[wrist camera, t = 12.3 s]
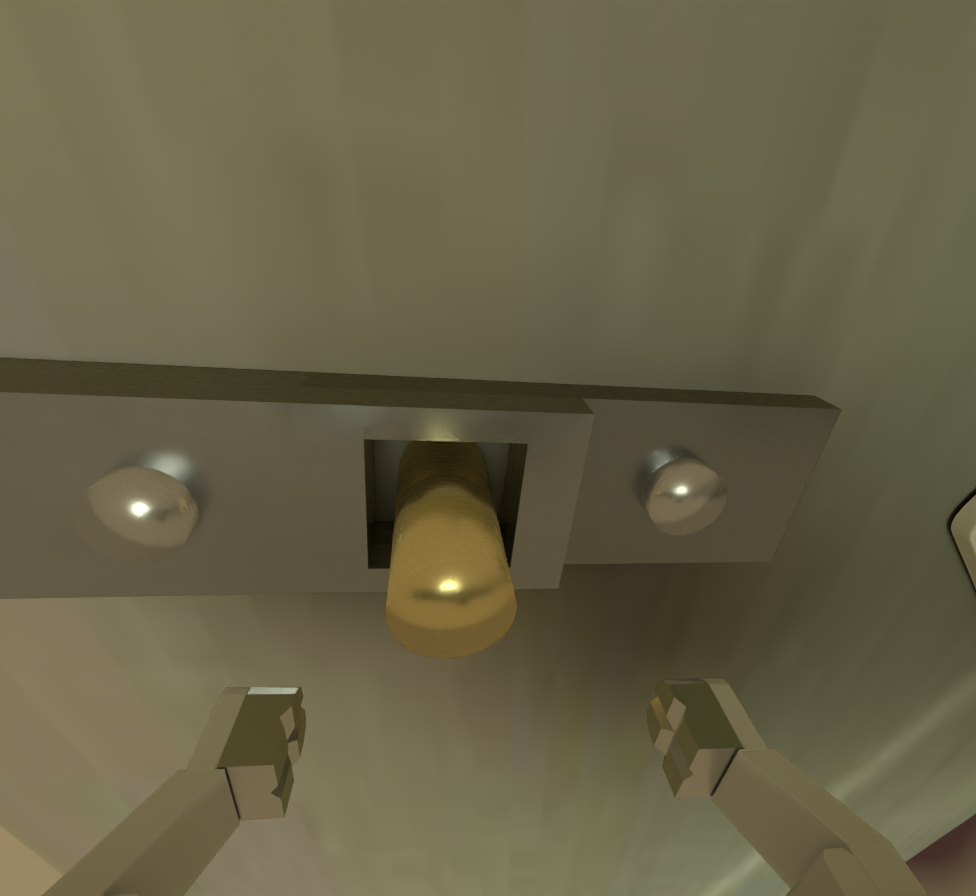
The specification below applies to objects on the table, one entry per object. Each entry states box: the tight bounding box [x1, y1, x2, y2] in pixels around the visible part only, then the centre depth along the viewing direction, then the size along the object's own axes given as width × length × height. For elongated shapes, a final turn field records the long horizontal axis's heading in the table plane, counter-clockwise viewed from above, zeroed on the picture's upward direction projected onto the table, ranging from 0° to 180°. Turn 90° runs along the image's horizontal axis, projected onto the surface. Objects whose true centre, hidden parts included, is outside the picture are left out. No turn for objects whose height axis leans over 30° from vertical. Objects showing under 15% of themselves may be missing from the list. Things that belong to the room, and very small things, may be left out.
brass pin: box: [386, 441, 517, 658], centre depth 16 cm, size 4×4×8 cm
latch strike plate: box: [0, 358, 842, 599], centre depth 18 cm, size 32×8×4 cm, turn 85°
